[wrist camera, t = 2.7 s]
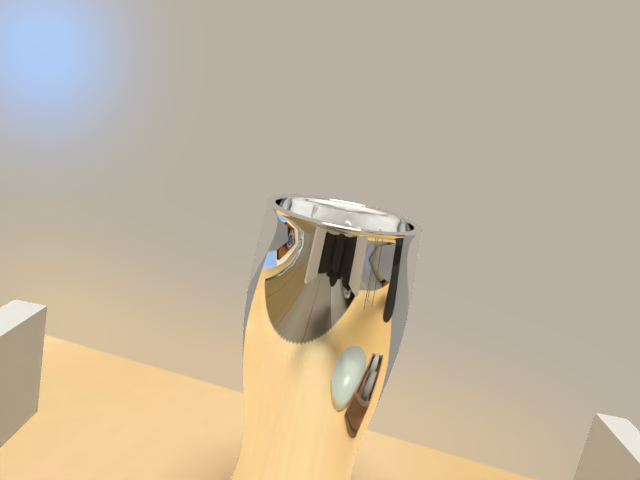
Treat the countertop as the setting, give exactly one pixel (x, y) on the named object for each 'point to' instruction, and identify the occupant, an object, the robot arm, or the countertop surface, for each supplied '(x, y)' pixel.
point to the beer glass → (320, 333)
